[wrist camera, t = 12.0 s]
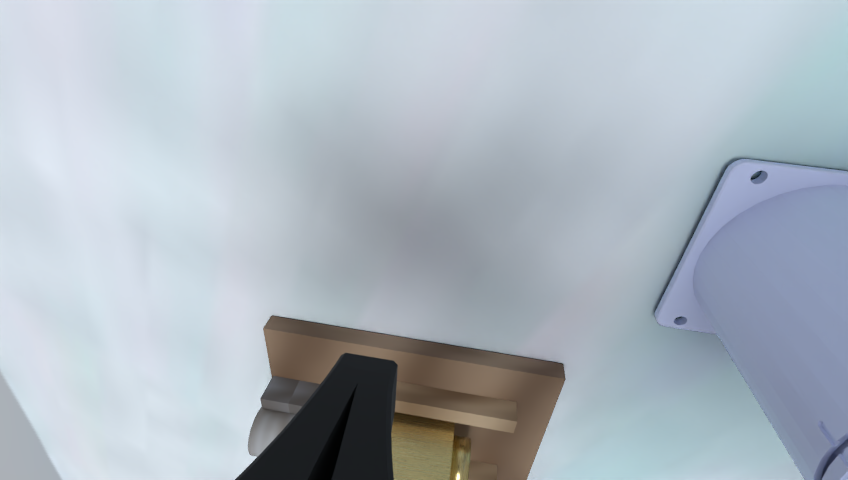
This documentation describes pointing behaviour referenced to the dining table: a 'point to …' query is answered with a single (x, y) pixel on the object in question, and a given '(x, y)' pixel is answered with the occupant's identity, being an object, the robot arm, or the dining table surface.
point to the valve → (428, 449)
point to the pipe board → (420, 390)
